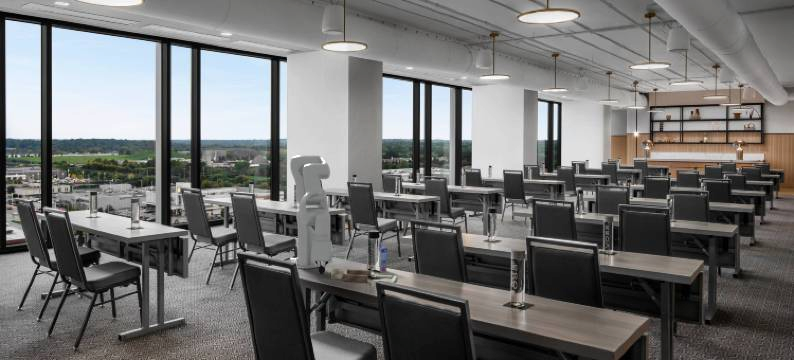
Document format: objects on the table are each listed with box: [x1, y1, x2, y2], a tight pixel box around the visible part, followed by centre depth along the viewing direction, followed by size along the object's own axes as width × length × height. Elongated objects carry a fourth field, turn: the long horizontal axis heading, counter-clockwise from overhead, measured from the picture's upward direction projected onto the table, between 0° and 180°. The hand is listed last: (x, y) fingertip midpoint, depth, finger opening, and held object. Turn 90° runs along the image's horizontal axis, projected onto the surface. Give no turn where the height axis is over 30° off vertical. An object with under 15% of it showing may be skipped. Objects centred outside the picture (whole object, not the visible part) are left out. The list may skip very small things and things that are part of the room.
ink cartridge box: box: [365, 242, 388, 272], centre depth 307 cm, size 10×6×14 cm, turn 54°
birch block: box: [330, 268, 344, 280], centre depth 289 cm, size 5×5×4 cm
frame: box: [372, 274, 398, 284], centre depth 287 cm, size 10×12×1 cm
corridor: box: [342, 268, 372, 283], centre depth 288 cm, size 12×12×3 cm
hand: (321, 274), depth 290 cm, fingers closed
